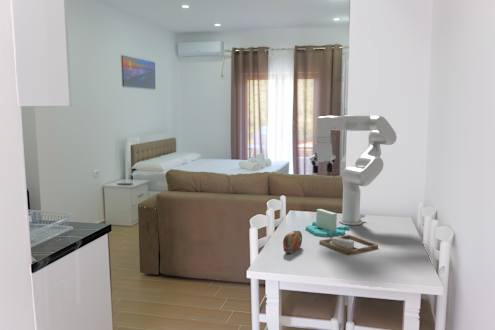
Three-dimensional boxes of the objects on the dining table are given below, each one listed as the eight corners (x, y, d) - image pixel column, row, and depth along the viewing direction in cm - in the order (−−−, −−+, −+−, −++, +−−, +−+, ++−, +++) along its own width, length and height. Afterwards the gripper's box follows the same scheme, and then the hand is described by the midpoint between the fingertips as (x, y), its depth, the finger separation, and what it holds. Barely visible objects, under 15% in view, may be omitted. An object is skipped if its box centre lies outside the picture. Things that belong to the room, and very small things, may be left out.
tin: (288, 255, 189) (288, 237, 188) (281, 254, 191) (282, 236, 189) (302, 246, 202) (303, 229, 200) (296, 245, 203) (296, 228, 202)
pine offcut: (334, 244, 207) (334, 240, 206) (352, 251, 196) (352, 247, 196) (329, 245, 205) (329, 241, 205) (347, 252, 195) (347, 248, 195)
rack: (348, 237, 216) (348, 234, 216) (377, 248, 200) (378, 244, 200) (319, 243, 206) (319, 240, 206) (347, 255, 190) (347, 251, 190)
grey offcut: (335, 241, 204) (335, 236, 204) (353, 246, 197) (354, 241, 197) (331, 243, 202) (331, 238, 202) (350, 248, 195) (350, 242, 195)
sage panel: (320, 225, 233) (320, 208, 232) (336, 230, 223) (336, 213, 222) (316, 225, 231) (316, 209, 230) (331, 231, 221) (332, 214, 220)
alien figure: (313, 225, 241) (301, 234, 223) (313, 221, 241) (301, 230, 223) (349, 230, 232) (339, 240, 214) (349, 226, 231) (339, 235, 214)
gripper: (331, 139, 235) (329, 170, 237) (306, 140, 226) (305, 172, 228) (340, 140, 228) (339, 172, 231) (315, 141, 219) (314, 174, 222)
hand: (322, 172), depth 229 cm, fingers open, 9 cm apart
